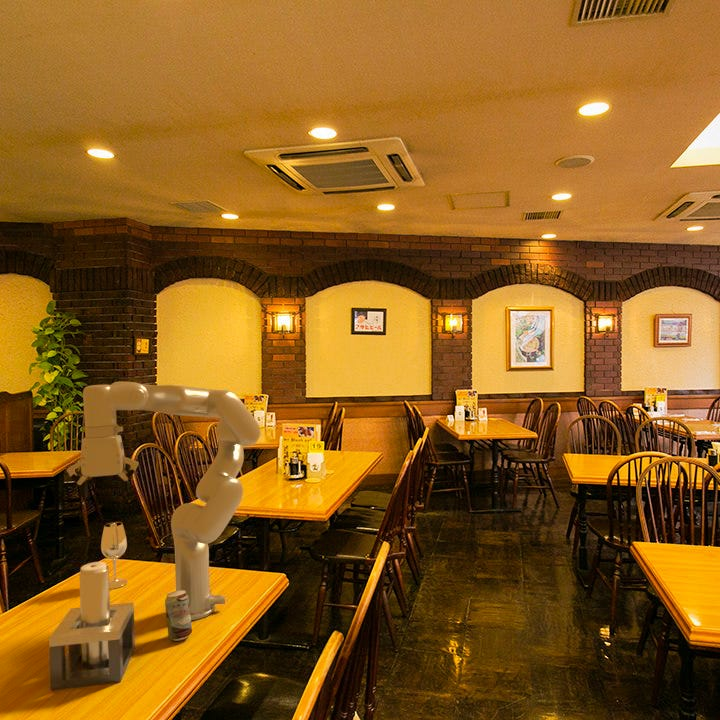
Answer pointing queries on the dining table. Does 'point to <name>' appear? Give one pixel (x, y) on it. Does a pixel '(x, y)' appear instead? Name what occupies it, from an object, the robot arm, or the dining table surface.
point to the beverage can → (178, 615)
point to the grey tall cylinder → (94, 612)
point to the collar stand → (73, 635)
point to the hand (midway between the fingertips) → (104, 496)
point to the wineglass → (114, 548)
